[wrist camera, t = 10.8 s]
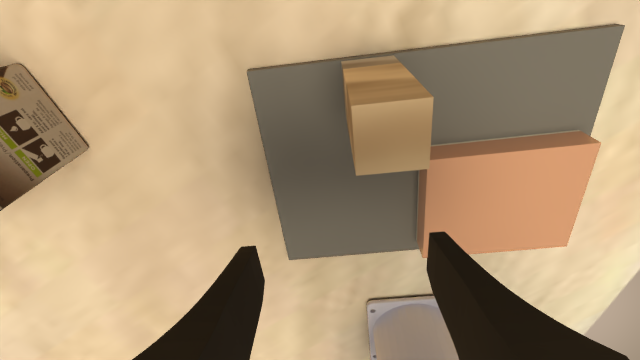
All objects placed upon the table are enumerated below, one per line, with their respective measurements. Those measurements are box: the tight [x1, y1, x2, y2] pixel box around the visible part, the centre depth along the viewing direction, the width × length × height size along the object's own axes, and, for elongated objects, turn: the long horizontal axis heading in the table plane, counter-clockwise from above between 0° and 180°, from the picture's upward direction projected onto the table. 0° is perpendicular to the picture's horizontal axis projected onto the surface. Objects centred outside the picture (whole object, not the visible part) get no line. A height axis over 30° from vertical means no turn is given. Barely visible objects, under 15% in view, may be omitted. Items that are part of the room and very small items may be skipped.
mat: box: [247, 24, 625, 260], centre depth 23 cm, size 15×21×1 cm
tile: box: [416, 130, 601, 258], centre depth 23 cm, size 8×2×10 cm
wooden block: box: [341, 55, 434, 176], centre depth 17 cm, size 3×3×8 cm
